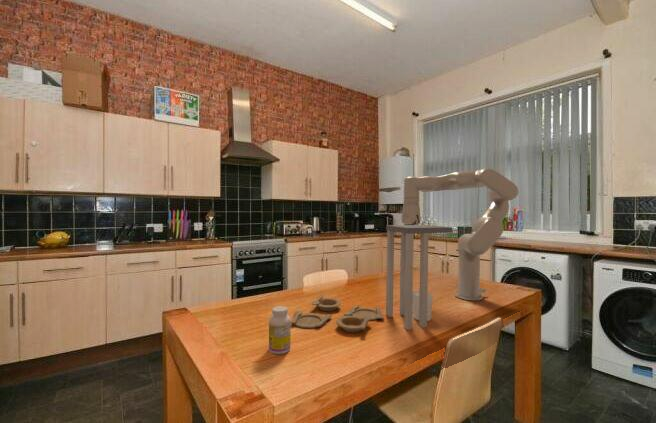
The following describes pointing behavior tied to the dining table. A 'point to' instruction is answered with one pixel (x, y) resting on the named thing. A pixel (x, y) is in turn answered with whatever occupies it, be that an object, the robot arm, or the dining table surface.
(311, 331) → the dining table surface
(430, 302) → the white cup
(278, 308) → the supplement bottle
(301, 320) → the tableware set
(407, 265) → the grey tall stool
